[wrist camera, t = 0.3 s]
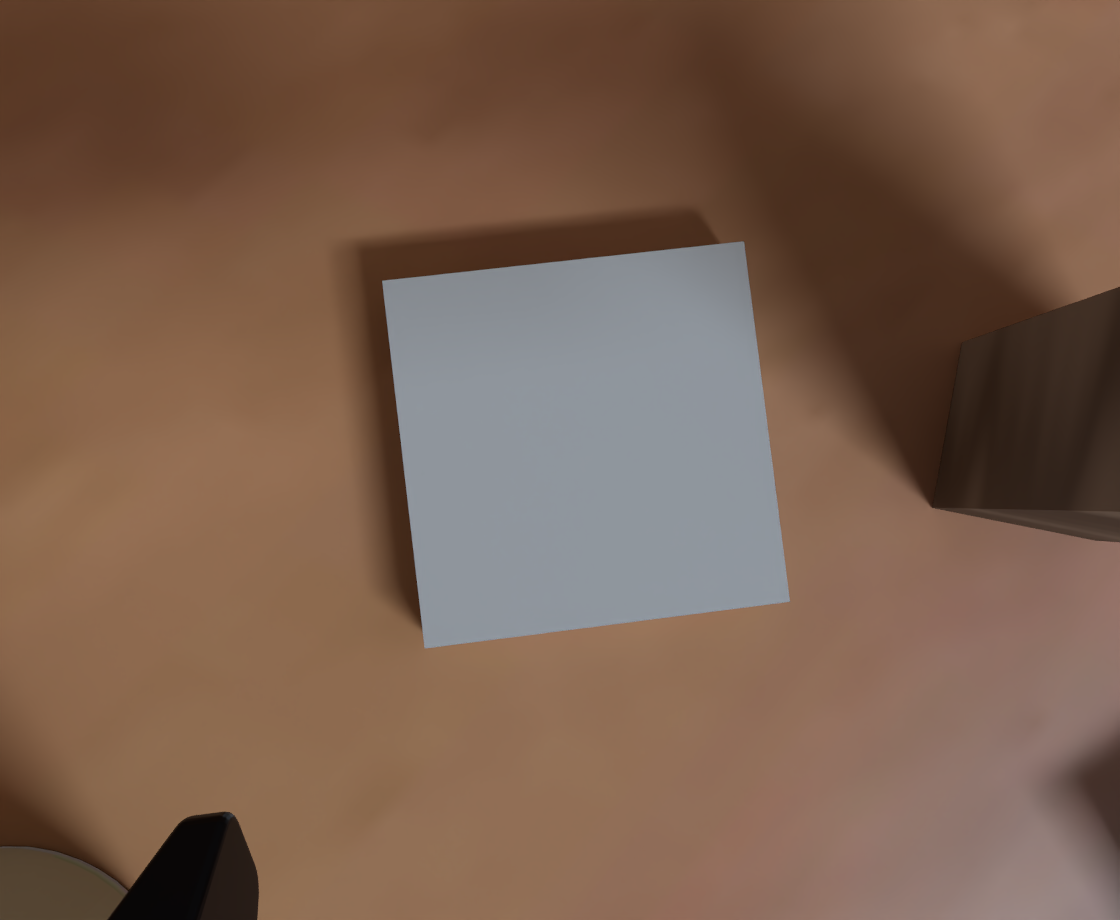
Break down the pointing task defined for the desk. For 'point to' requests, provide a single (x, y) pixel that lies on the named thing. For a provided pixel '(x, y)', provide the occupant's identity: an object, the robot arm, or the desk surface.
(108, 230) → the desk surface
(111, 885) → the coffee cup
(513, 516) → the grey slab
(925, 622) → the desk surface
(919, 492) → the desk surface
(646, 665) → the desk surface
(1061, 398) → the walnut block
